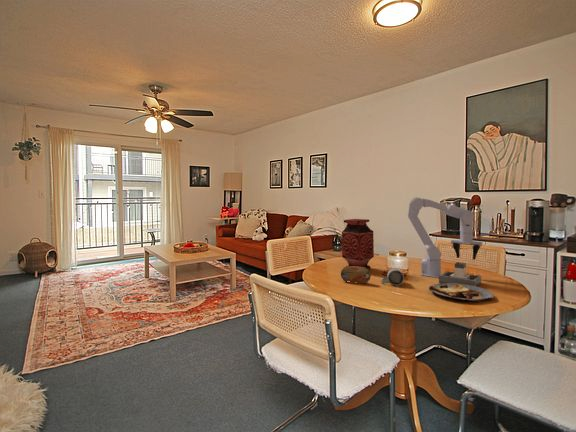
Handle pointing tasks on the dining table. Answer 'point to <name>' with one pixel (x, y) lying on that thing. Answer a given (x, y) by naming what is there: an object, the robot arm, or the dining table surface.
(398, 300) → the dining table surface
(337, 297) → the dining table surface
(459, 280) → the caddy
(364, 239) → the vase
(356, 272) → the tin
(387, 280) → the ceramic mug
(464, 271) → the block
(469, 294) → the food plate
